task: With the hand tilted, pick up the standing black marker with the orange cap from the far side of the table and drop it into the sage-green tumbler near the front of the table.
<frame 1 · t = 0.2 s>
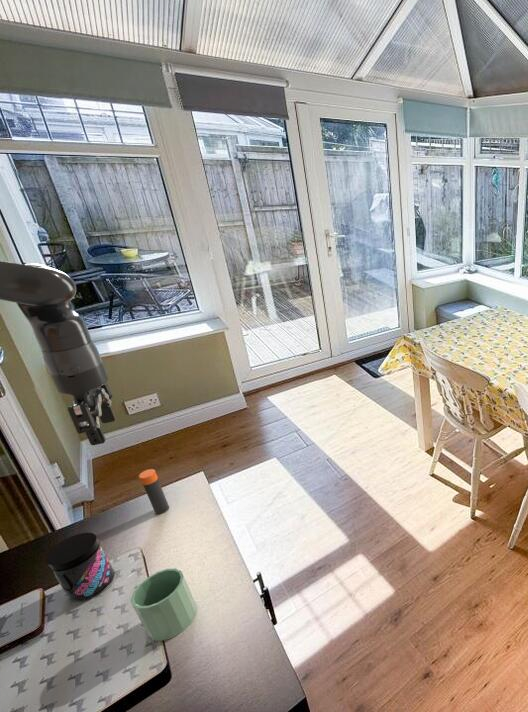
hand: (104, 432, 88), 21 cm above the table, tool pointing down, fingers open, 8 cm apart
tumbler: (173, 619, 74), on the table
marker: (162, 509, 96), on the table
supplement container: (93, 586, 79), on the table
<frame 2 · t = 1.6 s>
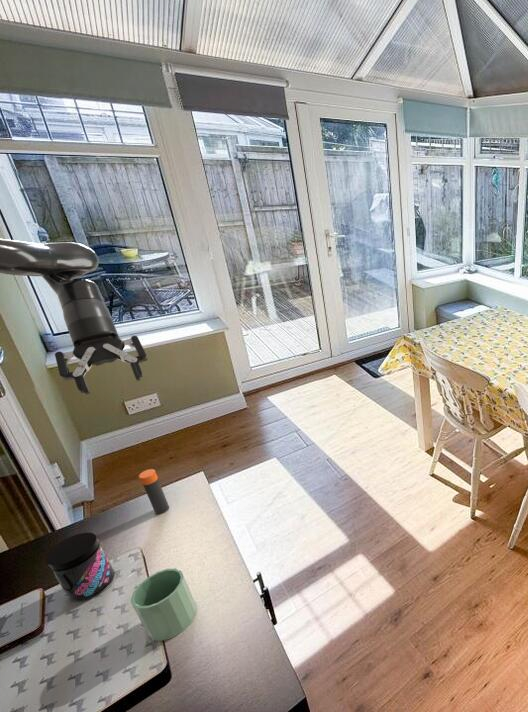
hand: (113, 386, 91), 28 cm above the table, tool tilted 45°, fingers open, 8 cm apart
nothing on the table moved.
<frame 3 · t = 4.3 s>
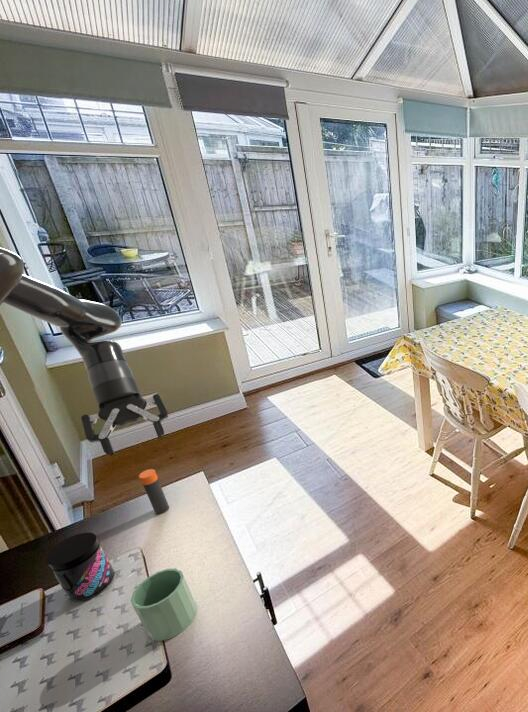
hand: (137, 445, 95), 14 cm above the table, tool tilted 45°, fingers open, 8 cm apart
nothing on the table moved.
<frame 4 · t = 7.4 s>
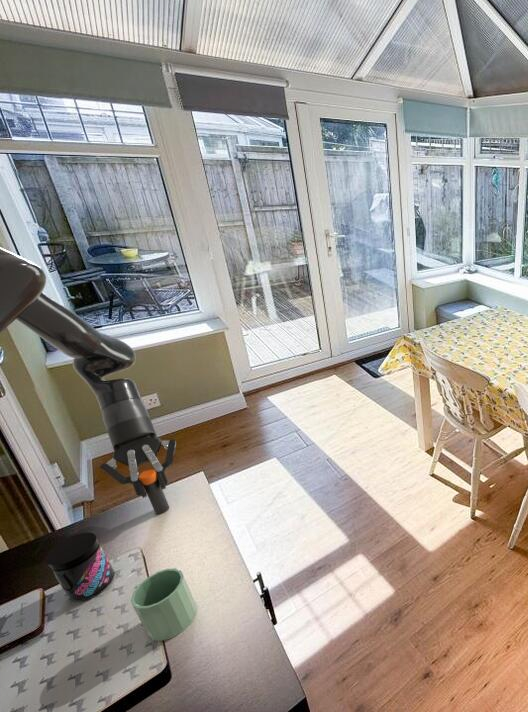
hand: (154, 492, 92), 7 cm above the table, tool tilted 45°, fingers closed on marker, 2 cm apart
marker: (162, 509, 96), on the table, touching gripper
everything else where it was.
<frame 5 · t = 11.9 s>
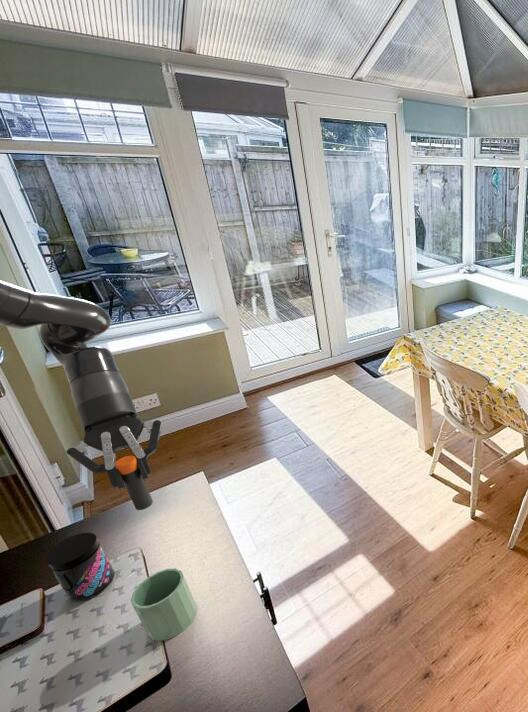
hand: (134, 483, 76), 21 cm above the table, tool tilted 45°, fingers closed on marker, 2 cm apart
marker: (144, 504, 80), point 14 cm above the table, touching gripper
everything else where it was.
when the fingers open (14 cm above the table, at t = 16.6 s): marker drops 6 cm, resting on tumbler.
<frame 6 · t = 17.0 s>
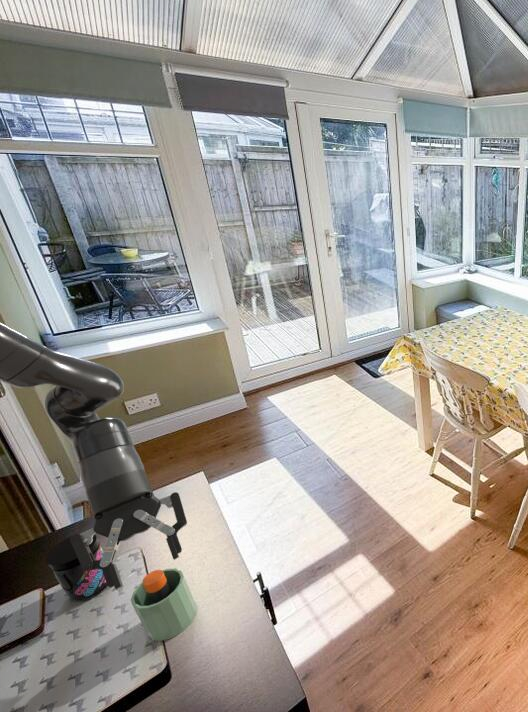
hand: (149, 572, 67), 15 cm above the table, tool tilted 45°, fingers open, 6 cm apart
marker: (172, 617, 74), point 1 cm above the table, touching tumbler
everything else where it was.
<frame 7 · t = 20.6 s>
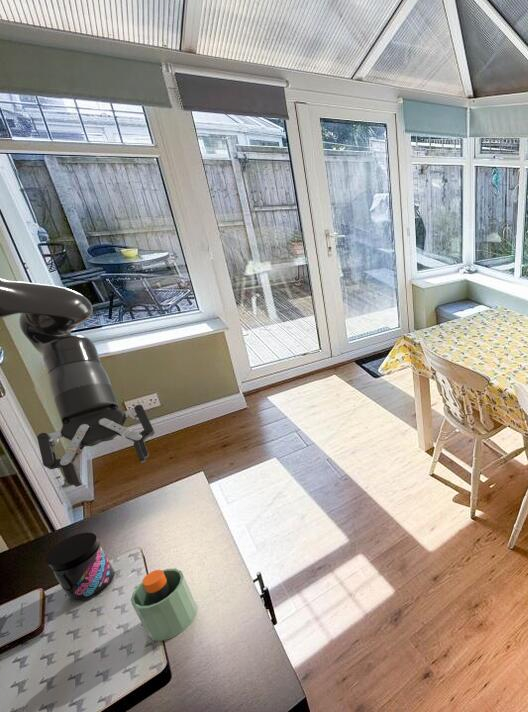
hand: (112, 473, 72), 25 cm above the table, tool tilted 45°, fingers open, 8 cm apart
nothing on the table moved.
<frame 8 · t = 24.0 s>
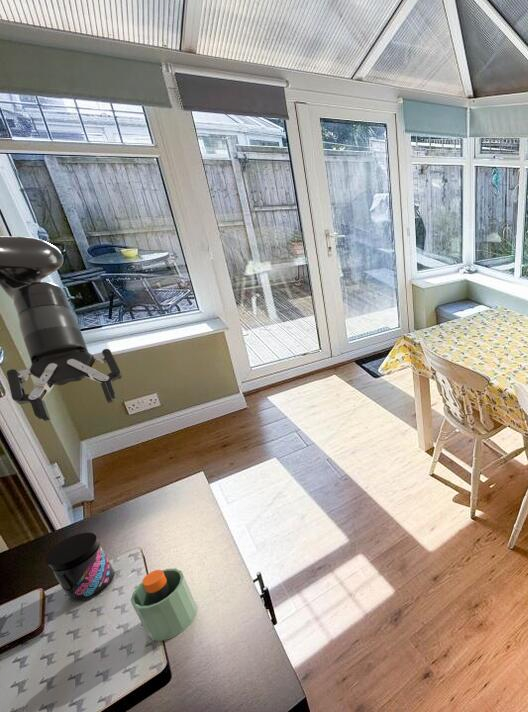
hand: (79, 410, 76), 33 cm above the table, tool tilted 45°, fingers open, 8 cm apart
nothing on the table moved.
at the end: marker 0.0 cm off-centre in the tumbler, point 0.6 cm above the tumbler's base; the gripper is holding nothing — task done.
